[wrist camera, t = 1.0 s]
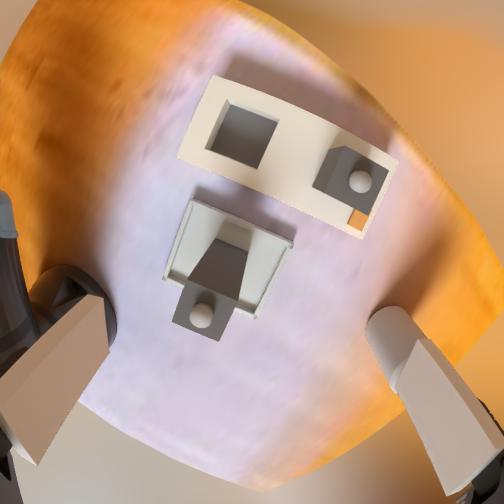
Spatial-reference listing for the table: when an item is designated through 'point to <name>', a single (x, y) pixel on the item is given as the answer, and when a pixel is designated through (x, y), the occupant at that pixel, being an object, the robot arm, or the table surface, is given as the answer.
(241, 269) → the plug
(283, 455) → the table surface
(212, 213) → the tray
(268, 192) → the strip
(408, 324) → the beverage can
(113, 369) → the table surface
